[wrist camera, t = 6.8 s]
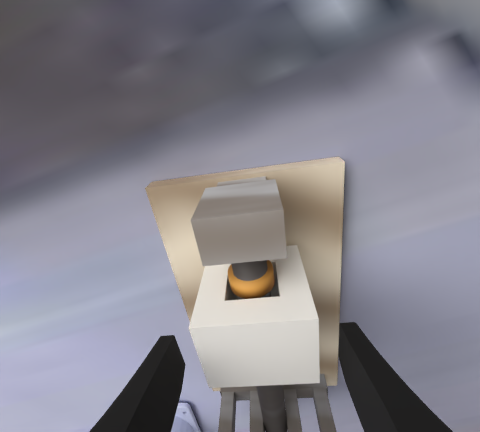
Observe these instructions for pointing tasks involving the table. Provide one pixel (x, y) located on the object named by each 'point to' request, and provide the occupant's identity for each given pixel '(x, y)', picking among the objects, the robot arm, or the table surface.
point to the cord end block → (257, 329)
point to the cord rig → (261, 261)
